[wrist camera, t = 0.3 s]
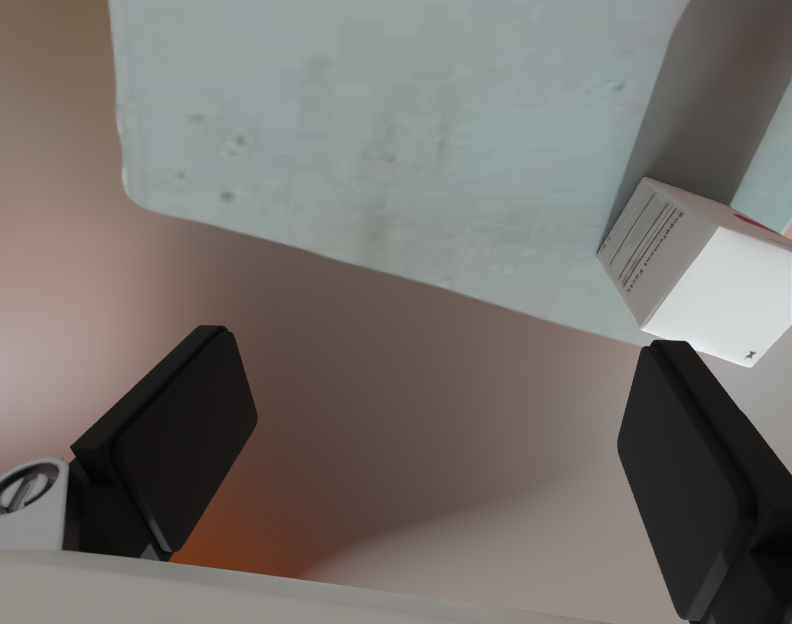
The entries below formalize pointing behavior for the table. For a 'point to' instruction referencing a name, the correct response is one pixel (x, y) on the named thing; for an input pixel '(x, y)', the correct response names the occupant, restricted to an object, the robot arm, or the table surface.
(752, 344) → the rectangular carton
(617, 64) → the table surface
